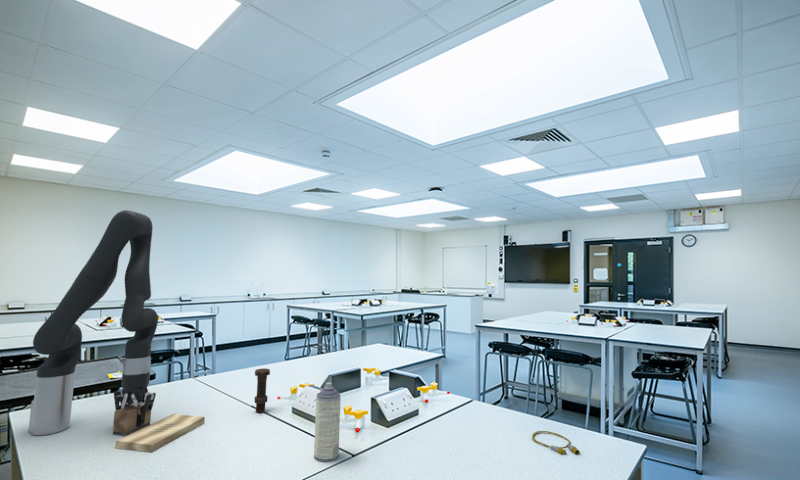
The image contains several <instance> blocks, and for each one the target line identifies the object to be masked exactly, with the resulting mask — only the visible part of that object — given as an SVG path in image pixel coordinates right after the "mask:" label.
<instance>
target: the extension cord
mask: <svg viewBox="0 0 800 480" xmlns="http://www.w3.org/2000/svg"><path fill="white" fill-rule="evenodd" d="M538 434H547V435H551V436H552V435H554V436H557V437H559V438H562V439H564V440H565V441H567V442H568V443H567V444H566V445H565V446H557V445H556V446H555V445H548V444H545V443H543V442H541V441H539V440H536V438H535V436H536V435H538ZM532 441H533V442H534V443H535V444H536V445H540V446H543V447H546V448H550V450H552V451H553V452H555V453H557V454H559V455H562V456H564V455H567V450H566V449H565V448H568V450H569V451H570V452H571V453H573V454H574V455H579V456H580V453H581V452H580V450H579V449H578V448H577V447H576V446H575V445H571V441H570V439H568V437H565V436H563V435H562V434H558V433H557V432H553V431H548V430H537V431H535V432H534V433H532Z"/></svg>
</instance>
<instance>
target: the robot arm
mask: <svg viewBox="0 0 800 480" xmlns="http://www.w3.org/2000/svg"><path fill="white" fill-rule="evenodd" d="M152 238H153V221H152V220H151V218H150V217H149V216H147V215H146V214H143V213H139V212H136V211H134V210H127V209H126V210H121V211H118V212H117V213H116V214H114V216H113V217H112V218H111V220H110V221H109V224H108V225H107V227H106V229H105V231H104V233H103V235H102V236H101V239H100V241H99V242H98V245H97V246H96V247H95V249H94V251H93V252H92V254H91V255H90V257H89V259H88V260H87V261H86V264H84V266H83V267H82V269H81V270H80V272H79V273H78V274H77V276H76V277H75V279H74V281H73V282H72V284H71V285H70V288H69V289H68V290H67V292H66V293H65V294H64V295H63V297H62V299H61V301H60V302H59V304H58V305H57V306H56V308H55V309H54V310H53V312H52V313H51V314H50V315H49V317H48V318H47V319H46V320H45V322H43V324H42V325H41V326H40V327H39V329H38V330H37V332H36V333H35V335H34V337H33V340H32V346H33V349H34V350H35V352H36V353H37V354H39V355H44V356H47V358H46V360H44V362H42V363H41V364H40V365H39V366H38V368H37V369H36V377H35V389H34V395H33V396H34V398H33V399H32V400H31V403H30V404H31V405H30V413H29V414H30V415H29V425H28V433H30V434H31V435H32V436H33V435H34V436H44V435H45V436H46V435H52V434H55V433H60V432H62V431H65V430H67V429H68V428H70V426H71V417H72V407H73V406H72V405H73V396H74V394H73V393H74V385H75V383H74V382H75V373H76V367H77V365H78V363H79V360H80V355H81V349H82V343H83V332H82V330H81V327H80V326H79V325H78V324H76V323H77V322H78V320H79V319H80V318H81V317H82V316H83V315H84V314H85V313H86V312H87V311H88V310H89V309H91V308H92V307H93V306H94V305H96V303H98V302H99V301H100V300H101V299H102V298H103V297H104V296H105V295H106V293H107V292H108V290H109V289H110V287H111V286H112V285H113V283H114V281H115V279H116V276H117V272H118V267H119V258H120V255H121V254H122V251H124V249H125V247H126V245H128V243H129V245H130V256H129V260H128V264H127V266H126V269H125V274H124V290H125V300H124V301H123V302H124V303H123V308H122V312H121V324H122V327H123V328H124V329H125V330H126V331H127V332H131V333H134V335H133V336H132V337H131V338H129V339H128V340H126V342H125V348H124V360H123V363H122V371H121V372H122V374H121V388H122V389H119V390H117V391H114V392H113V398H114V408H115V409H114V410H115V411H116V410H119V409H122V408H125V407H127V406H131V405H132V404H134V407H135V408H136V409H137V414H138V415H137V422H136V426H137V427H140V426H142V425H143V424H144V422H145V413H146V412H149V411H151V412H152V410H153V407H154V404H155V403H154V402H155V398H156V395H157V394H156V392H150V391H149V390H148V386H149V384H150V381H151V380H150V377H151V365H152V364H151V363H152V361H151V351H152V342H153V339H154V337H155V335H156V331H157V328H158V327H157V326H158V323H159V317H158V313H157V312H156V311H155V309H153V308H150V307H146V308H145V302H146V301H148V300H150V299H151V297H152V287H151V275H150V274H151V273H150V272H151V271H150V261H151V260H150V259H151V249H152ZM140 402H142V403H141V404H139V403H140ZM141 407H142V410H141Z"/></svg>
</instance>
